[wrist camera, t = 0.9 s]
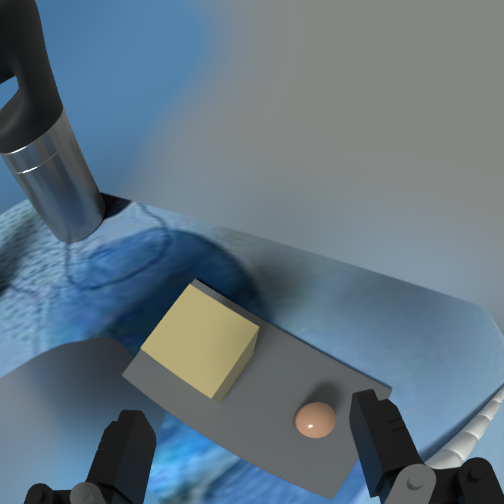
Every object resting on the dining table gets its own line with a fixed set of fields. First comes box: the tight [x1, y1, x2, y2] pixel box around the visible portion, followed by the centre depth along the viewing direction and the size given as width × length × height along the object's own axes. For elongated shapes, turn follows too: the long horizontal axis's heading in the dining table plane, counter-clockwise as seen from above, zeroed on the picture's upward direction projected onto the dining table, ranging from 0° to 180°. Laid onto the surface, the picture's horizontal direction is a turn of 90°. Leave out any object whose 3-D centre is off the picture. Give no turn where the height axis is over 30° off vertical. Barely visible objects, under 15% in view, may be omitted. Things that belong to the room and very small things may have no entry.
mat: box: [122, 279, 392, 500], centre depth 29 cm, size 26×14×1 cm, turn 58°
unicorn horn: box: [424, 386, 504, 469], centre depth 23 cm, size 5×24×5 cm, turn 113°
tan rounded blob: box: [293, 402, 336, 438], centre depth 26 cm, size 4×4×3 cm
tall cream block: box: [141, 284, 259, 404], centre depth 26 cm, size 6×6×10 cm
